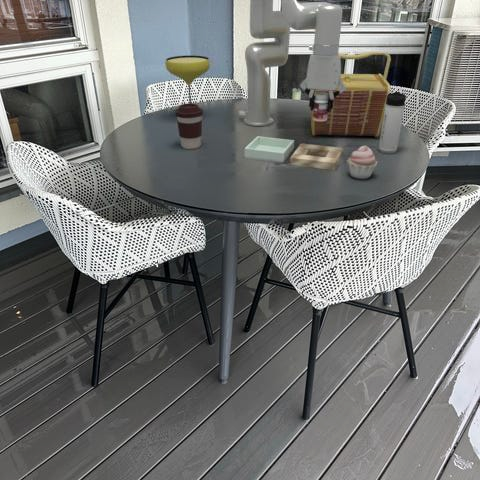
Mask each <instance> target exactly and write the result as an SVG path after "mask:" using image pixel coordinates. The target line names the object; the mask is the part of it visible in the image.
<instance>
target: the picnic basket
mask: <svg viewBox="0 0 480 480" xmlns="http://www.w3.org/2000/svg"><path fill="white" fill-rule="evenodd" d="M338 55H340V59H341V60H342V59H343V60H360V59H365V58H368V57H370V56H374V55H375V56H379V55H380V56H385V57H386V64H385V65H386V66H385V69H384V71H383V72H384V74H383V75H382V74H381V73H378V74H377V73H376V74H373V73H372V74H371V73H364V74H363V73H341V74H340V78H341V80H342V82H343V83H344V85H345V87H346V90H345V91H343V92H342V93H340V94H339V95H338V96H336V97H335V98H334V103H333V109H331V111H330V112H328V117H327V120H326V121H315V120H313V110H312V111H311V110H310V125H311V133H312V134H311V135H312V136H313V137H314V136H316V135H317V136H318V135H321V136H357V137H358V136H359V137H375V138H377V137H379V136H380V134H381V130H382V124H383V118H384V111H385V106H386V100H387V95H388V94H390V93H391V85H390V83H389V82H388V80H387V78H388V73H389V69H390V66H391V61H392V57H391V55H390V54H389V53H388V52H385V51H370V52H364V53H359V54H344V53H340V52H338ZM339 89H340V86H339V87H338V88H337V89H336V90H335V92H336V91H337V90H339ZM318 92H326V93H328V100H329V97H330V95H329V91H328V90H316V91H315V93H314V95H315V96H316V93H318ZM315 99H316V97H315Z"/></svg>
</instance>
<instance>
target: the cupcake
mask: <svg viewBox="0 0 480 480" xmlns="http://www.w3.org/2000/svg"><path fill="white" fill-rule="evenodd" d="M346 162H347V165H348V169H349V174H350V177H352V178H354V179H358V180H359V179H360V180H367V179H369V178H370V177H371V175H372V173H373V172H374V171H373V170H374V169H375V167H376V166H377V165H378V161H376V157H375V154H374V152H373V151H372V149H371V148H369V146H367V145H361V146H360V147H359V148H358V149H357V150H354V151H353V152H352V153H351V155H350V157H348V159H347V160H346Z"/></svg>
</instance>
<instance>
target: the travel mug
mask: <svg viewBox="0 0 480 480" xmlns="http://www.w3.org/2000/svg"><path fill="white" fill-rule="evenodd" d="M406 100H407V96H406V94H404V93H402V92H400V91H394V92H390V94H388V95H387V100H386V106H385V111H384V118H383V122H382V126H381V130H380V138H379V144H378V151H379V152H380V153H383V154H386V155H389V154H390V155H392V154H395V153H396V152H398V151H397V150H398V146H399V140H400V134H401V128H402V123H403V118H404V117H403V116H404V111H405V106H406Z"/></svg>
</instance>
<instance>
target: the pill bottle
mask: <svg viewBox="0 0 480 480" xmlns="http://www.w3.org/2000/svg"><path fill="white" fill-rule="evenodd" d="M315 97H316V99H315V100H314V108H313V120H315V121H326V120H327V117H328V112H327V107H328V93H326V92H318V93H316V96H315Z"/></svg>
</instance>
